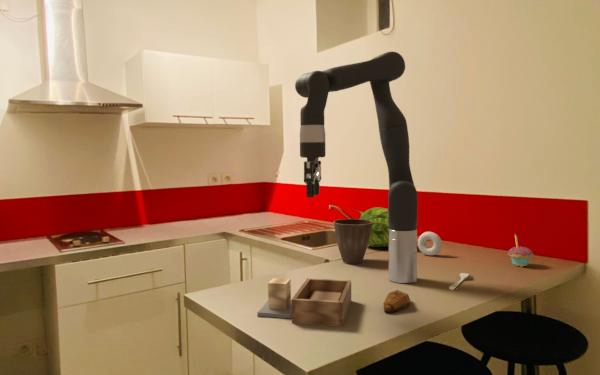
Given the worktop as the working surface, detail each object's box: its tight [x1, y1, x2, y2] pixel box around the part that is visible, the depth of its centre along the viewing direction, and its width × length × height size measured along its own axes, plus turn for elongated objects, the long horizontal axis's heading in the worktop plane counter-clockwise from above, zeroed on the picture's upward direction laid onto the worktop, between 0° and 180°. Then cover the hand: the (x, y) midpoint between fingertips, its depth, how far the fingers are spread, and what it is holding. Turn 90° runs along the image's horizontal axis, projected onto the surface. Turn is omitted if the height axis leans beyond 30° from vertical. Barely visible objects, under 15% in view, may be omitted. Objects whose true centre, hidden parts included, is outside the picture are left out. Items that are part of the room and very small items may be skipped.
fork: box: [449, 272, 472, 288], centre depth 150 cm, size 3×21×3 cm, turn 144°
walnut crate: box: [291, 278, 352, 327], centre depth 124 cm, size 13×20×6 cm, turn 168°
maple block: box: [267, 277, 292, 310], centre depth 126 cm, size 5×5×7 cm
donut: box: [417, 231, 443, 256], centre depth 189 cm, size 10×4×10 cm, turn 55°
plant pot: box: [333, 218, 372, 265], centre depth 180 cm, size 15×15×16 cm
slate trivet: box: [256, 300, 292, 319], centre depth 126 cm, size 9×12×1 cm
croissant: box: [383, 289, 411, 313], centre depth 127 cm, size 14×7×5 cm, turn 144°
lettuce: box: [359, 206, 389, 248], centre depth 206 cm, size 19×23×18 cm
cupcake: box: [507, 233, 535, 265], centre depth 170 cm, size 9×8×12 cm
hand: (313, 196), depth 136 cm, fingers open, 8 cm apart
